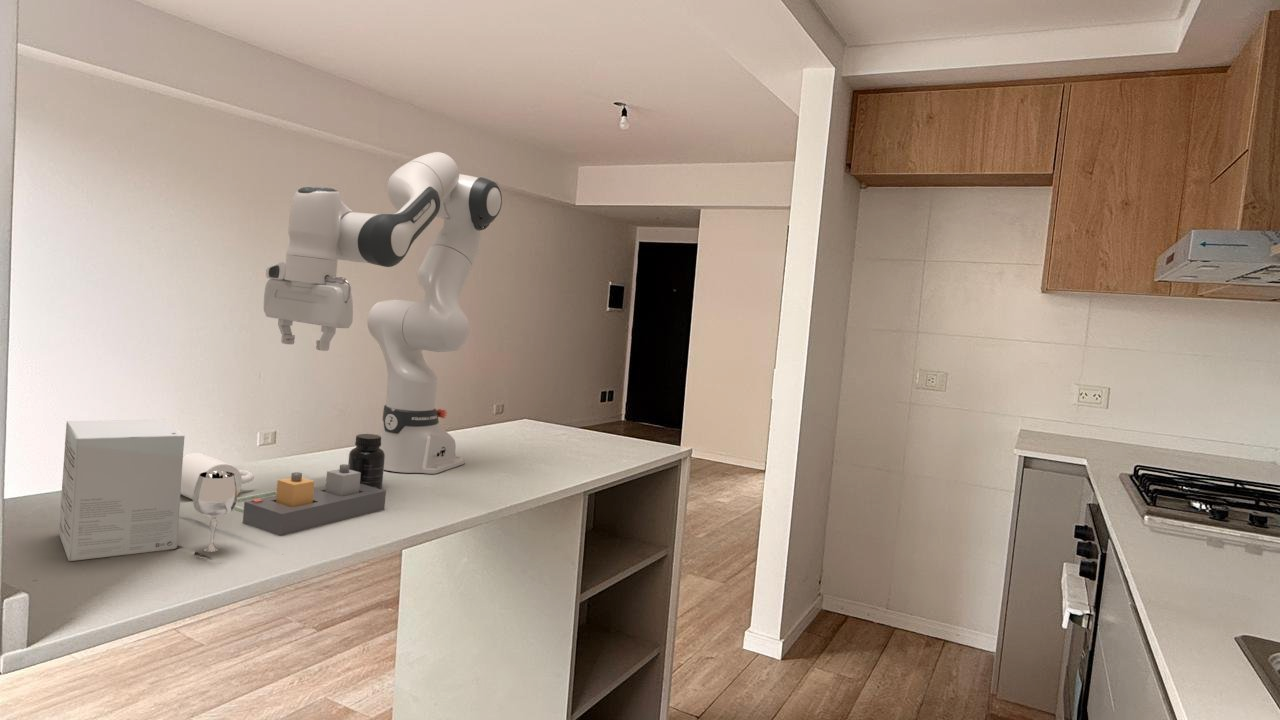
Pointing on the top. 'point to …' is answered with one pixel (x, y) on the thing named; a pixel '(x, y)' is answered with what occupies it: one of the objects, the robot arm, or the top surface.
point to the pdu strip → (311, 510)
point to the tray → (252, 498)
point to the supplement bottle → (368, 460)
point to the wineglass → (214, 499)
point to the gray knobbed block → (343, 481)
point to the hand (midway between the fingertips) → (304, 347)
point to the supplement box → (120, 488)
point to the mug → (205, 463)
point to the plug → (295, 491)
